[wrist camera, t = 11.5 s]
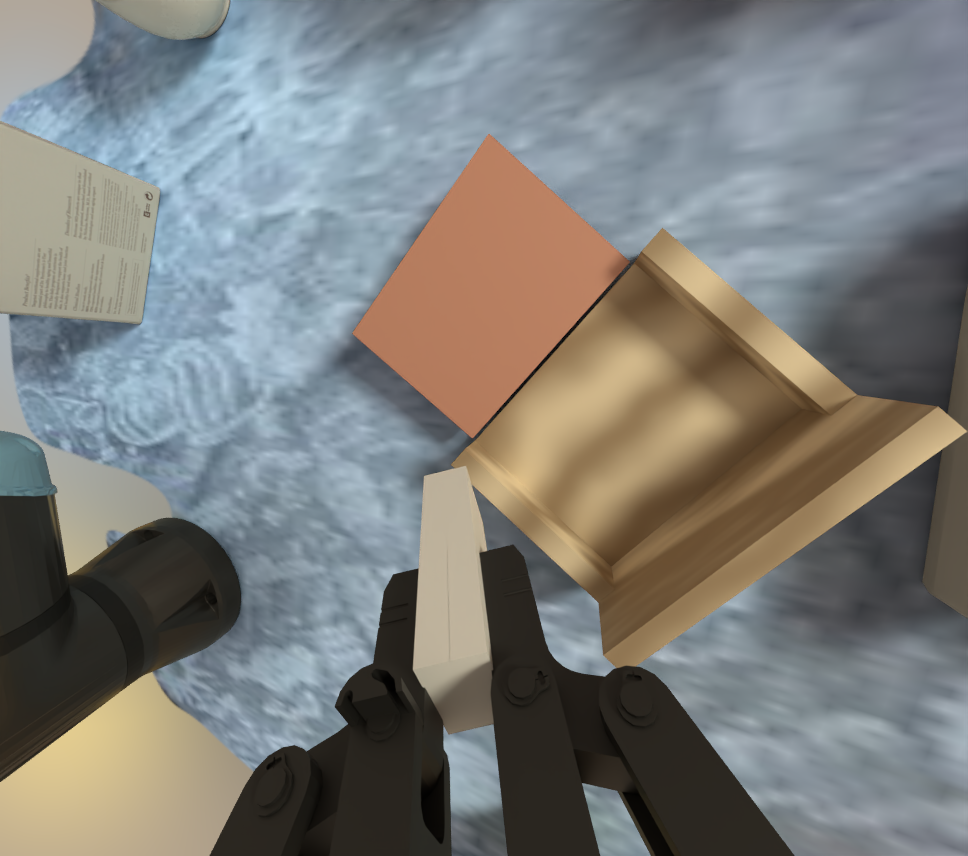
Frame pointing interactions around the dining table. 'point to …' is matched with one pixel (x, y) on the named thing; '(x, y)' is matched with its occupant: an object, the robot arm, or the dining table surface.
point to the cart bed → (686, 450)
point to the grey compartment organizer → (952, 498)
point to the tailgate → (487, 288)
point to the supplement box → (71, 233)
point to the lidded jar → (172, 16)
